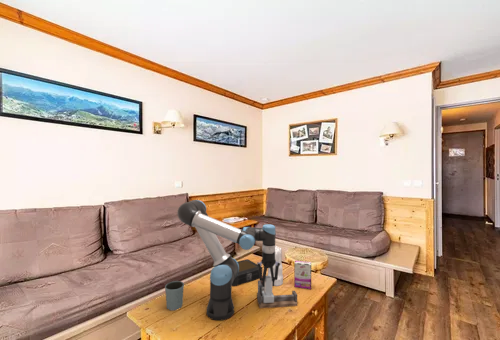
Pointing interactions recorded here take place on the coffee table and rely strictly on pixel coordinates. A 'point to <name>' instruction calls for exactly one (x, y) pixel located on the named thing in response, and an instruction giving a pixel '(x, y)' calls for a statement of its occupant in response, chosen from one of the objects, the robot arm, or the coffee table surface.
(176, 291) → the grey cup
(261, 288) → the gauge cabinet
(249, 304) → the coffee table surface
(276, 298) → the slide rail
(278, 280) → the decorative vase
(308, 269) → the candy bar box
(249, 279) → the cash box
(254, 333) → the coffee table surface
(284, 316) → the coffee table surface
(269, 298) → the carriage
